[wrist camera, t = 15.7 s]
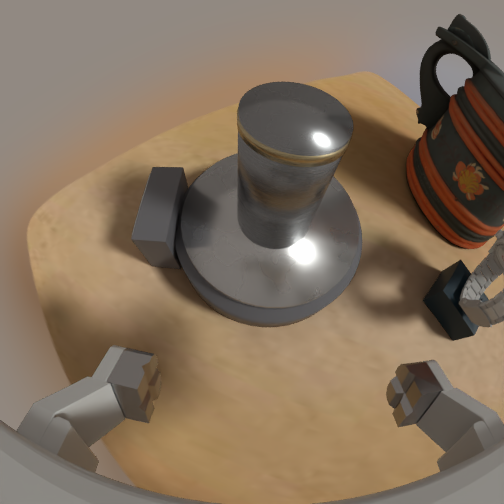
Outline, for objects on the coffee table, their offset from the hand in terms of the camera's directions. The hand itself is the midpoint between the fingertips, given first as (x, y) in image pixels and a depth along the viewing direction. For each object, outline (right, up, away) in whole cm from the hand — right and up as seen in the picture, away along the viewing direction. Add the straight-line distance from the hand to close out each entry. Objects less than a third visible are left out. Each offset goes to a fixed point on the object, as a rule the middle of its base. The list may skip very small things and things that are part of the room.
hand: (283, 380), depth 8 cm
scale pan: (0, +6, +11) cm, 13 cm away
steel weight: (0, +7, +11) cm, 13 cm away
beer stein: (+22, +12, +19) cm, 31 cm away
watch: (+18, -1, +13) cm, 22 cm away
